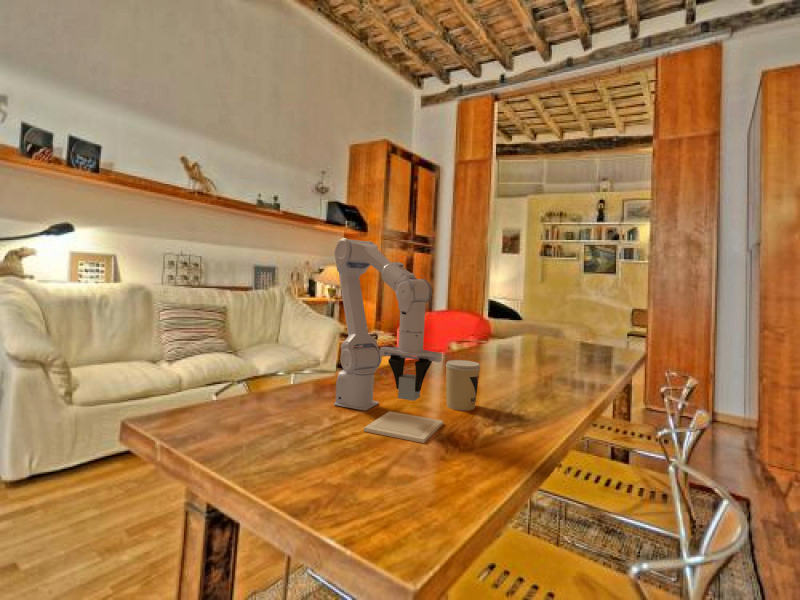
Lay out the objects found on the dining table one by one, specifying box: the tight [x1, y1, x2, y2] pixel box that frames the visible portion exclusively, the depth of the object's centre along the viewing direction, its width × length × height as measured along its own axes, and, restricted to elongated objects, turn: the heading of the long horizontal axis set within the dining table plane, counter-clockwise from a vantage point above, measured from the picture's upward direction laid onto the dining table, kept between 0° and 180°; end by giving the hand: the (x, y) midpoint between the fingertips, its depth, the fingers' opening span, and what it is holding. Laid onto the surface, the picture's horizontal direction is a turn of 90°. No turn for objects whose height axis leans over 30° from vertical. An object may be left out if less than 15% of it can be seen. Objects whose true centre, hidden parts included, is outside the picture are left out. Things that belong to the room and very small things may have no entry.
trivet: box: [363, 410, 444, 444], centre depth 102 cm, size 14×14×1 cm
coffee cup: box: [445, 359, 481, 412], centre depth 121 cm, size 9×9×12 cm
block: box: [397, 373, 421, 402], centre depth 103 cm, size 4×4×5 cm
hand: (408, 389), depth 103 cm, fingers closed on block, 4 cm apart
